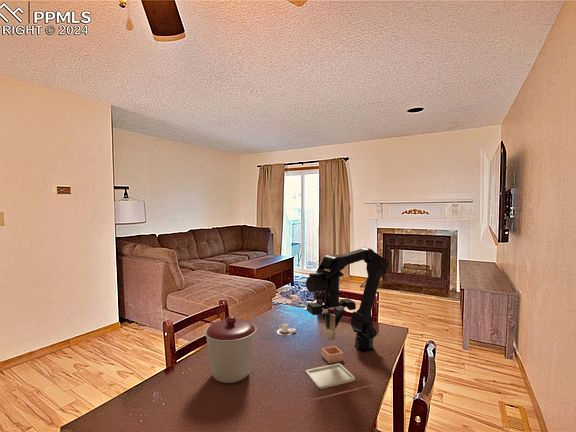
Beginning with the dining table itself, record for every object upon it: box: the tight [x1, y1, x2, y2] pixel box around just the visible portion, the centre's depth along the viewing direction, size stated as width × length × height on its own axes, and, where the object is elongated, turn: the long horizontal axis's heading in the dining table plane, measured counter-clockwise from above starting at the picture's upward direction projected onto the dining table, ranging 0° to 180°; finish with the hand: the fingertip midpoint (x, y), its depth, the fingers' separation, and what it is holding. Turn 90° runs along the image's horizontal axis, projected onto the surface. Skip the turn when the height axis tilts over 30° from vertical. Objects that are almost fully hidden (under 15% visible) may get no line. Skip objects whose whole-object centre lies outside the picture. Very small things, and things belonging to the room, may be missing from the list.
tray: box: [304, 362, 357, 390], centre depth 109 cm, size 14×11×1 cm
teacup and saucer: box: [276, 322, 297, 336], centre depth 147 cm, size 9×8×4 cm
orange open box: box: [321, 345, 344, 364], centre depth 122 cm, size 6×6×4 cm
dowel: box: [326, 313, 336, 341], centre depth 121 cm, size 3×3×9 cm
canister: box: [203, 315, 258, 384], centre depth 110 cm, size 18×18×21 cm
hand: (331, 328), depth 121 cm, fingers closed on dowel, 3 cm apart
